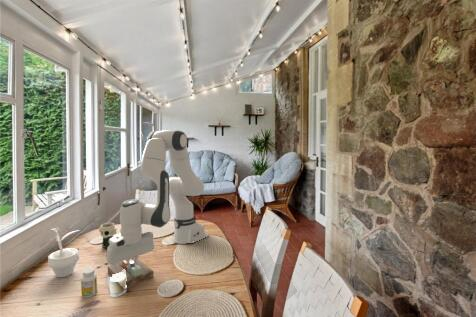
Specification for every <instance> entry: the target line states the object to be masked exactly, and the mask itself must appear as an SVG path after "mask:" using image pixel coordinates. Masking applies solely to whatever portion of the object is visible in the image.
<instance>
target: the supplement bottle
mask: <svg viewBox="0 0 476 317" xmlns="http://www.w3.org/2000/svg"><path fill="white" fill-rule="evenodd" d="M97 283H98V280H97V274H96V273H95V268H93V267H90V268H85V269H84V270H83V271H82V277H81V278H80V284H81V285H80V290H81V291H80V292H81V296H82V297H83V298H91V297H93V296H94V295H96V294H97V293H98V284H97Z"/></svg>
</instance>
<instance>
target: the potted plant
mask: <svg viewBox="0 0 476 317" xmlns="http://www.w3.org/2000/svg"><path fill="white" fill-rule="evenodd" d="M60 229H61V228H60V227H59V226H58V225H56V227H54V228H50V231H53V232H54V233H55V234H54V236H53V238H54V239H55V241H56V242H57V244H58V247H59V250H56V251H54V252H51V253H50V254H49V255H48V256H47V260H48V264H47V265H48V267H49V268H50V269H52V271H53V273H54V275H55V277H57V278H65V277H68V276H71V275H72V273H73V272H74V270H75V267H76V264H77V262H78V261H79V260H80V251H79V250H78V248H74V247H67V248H64V247H63V243H62V241H63V240H65V239H66V238H68V237H69V236H71V235H72V234H74V233H77V232H80V231H81V229H78V230H73V231H69V232H68V233H66V234H65V235H63V236H61V235H59V230H60Z"/></svg>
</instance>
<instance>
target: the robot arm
mask: <svg viewBox="0 0 476 317" xmlns="http://www.w3.org/2000/svg"><path fill="white" fill-rule="evenodd" d="M187 145H188V136H187V134H186V133H185V132H184V131H181V130H172V129H166V130H154V131H151V132H150V133H149V134H148V136H147V138H146V144H145V147H144V150H143V153H142V158H141V163H140V170H141V172H142V174H143V175H144V176H146V177H147V178H148V179H150V180H152V181H153V182H154V183H155V184H156V187H157V193H156V196H157V200H156V201H157V202H156V204H155V203H154V204H152V203H147V202H142V201H140V200H138V199H135V198H131V199H128V200H125V201H123V202H122V203H121V206H120V211H119V223H120V230H119V233H118V234H117V233H116V234H115V235H113V237H112V238H110V239H109V244H110V245H109V246H108V248H106V262H107V264H109V265H112V264H115V263H118V262H121V261H124V260H126V262H127V263H128V267H129V268H130V267H133V266H136V261H137V259H139V256H142V255H144V254H147V253H151V252H153V251H154V249H155V243H154V232H152V231H146V232H142V231H143V230H142V229H143V228H142V225H147V226H152V227H156V228H162V227H164V226H166V225H167V224H168V223H169V221H170V219H171V209H170V198H171V199H172V201H173V202H172V203H173V205H174V220H173V221H174V231H173V232H174V233H173V238H172V242H173V243H175V244H179V245H187V244H186V243H194V242H196V241H198V242H200V241H202V240H204V239H206V238H208V237H209V233H208V232H207V231H205V228H204V226H203V225H202V224H201V223H199V222H197V221H199V219H200V217H199V216H194V204H193V202H192V201H190V200H189V199H188V198H187V196H188V197H197V196H200V195H202V194H203V193H204V191H205V183H204V181H203V179H201V178H199V177H198V176H197V175H196V173H195V172H194V171H193V168H192V166H191V163H190V156H189V151H188V148H187ZM167 152H168V158H169V163H170V169H171V171H172V173H174V174H175V175H176V176H172V177H170V175H169V173H168V171H166V159H167V158H166V157H167ZM207 236H208V237H207ZM205 237H206V238H205ZM203 238H204V239H203ZM201 239H202V240H201ZM199 240H200V241H199ZM193 241H194V242H193ZM196 243H197V242H196ZM194 244H195V243H194ZM133 257H134V259H133V261H132V262H129V261H130V258H133Z"/></svg>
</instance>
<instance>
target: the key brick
mask: <svg viewBox="0 0 476 317" xmlns="http://www.w3.org/2000/svg"><path fill="white" fill-rule="evenodd" d="M132 261H133V260H131V259H130V261H129V262H132ZM127 266H128V263H127V262H126V260H124V261H123V268H124V269H125V270H127Z"/></svg>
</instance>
